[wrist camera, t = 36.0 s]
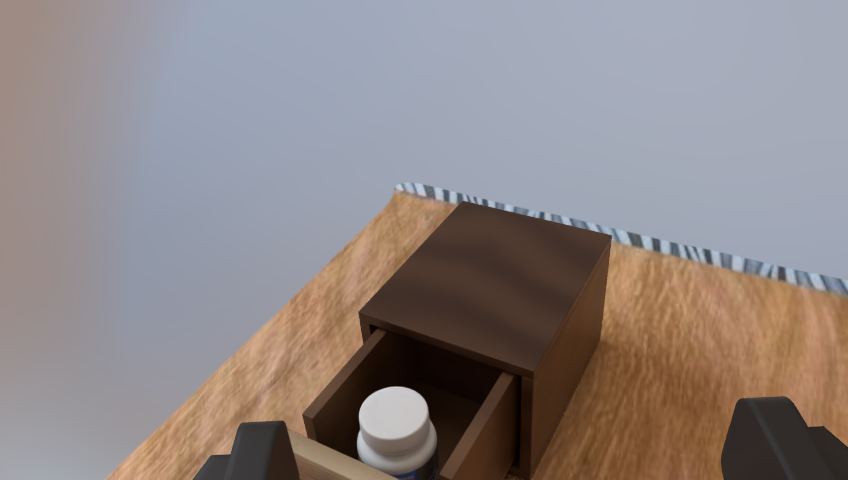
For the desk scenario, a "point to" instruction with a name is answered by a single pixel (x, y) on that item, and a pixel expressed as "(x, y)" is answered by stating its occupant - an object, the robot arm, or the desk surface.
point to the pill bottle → (398, 435)
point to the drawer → (447, 404)
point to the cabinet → (505, 306)
